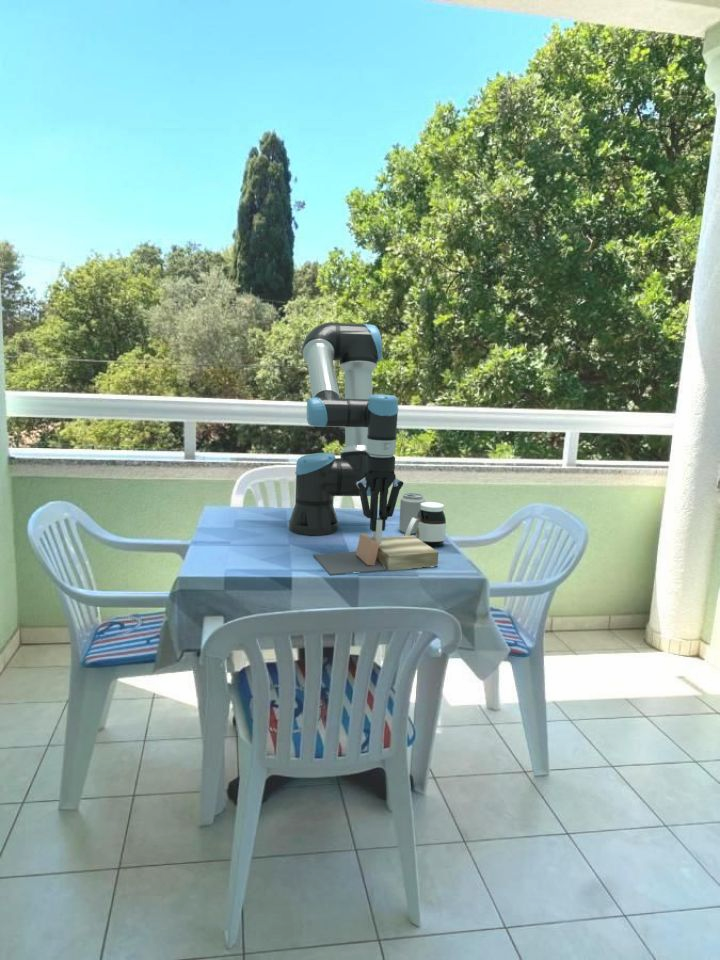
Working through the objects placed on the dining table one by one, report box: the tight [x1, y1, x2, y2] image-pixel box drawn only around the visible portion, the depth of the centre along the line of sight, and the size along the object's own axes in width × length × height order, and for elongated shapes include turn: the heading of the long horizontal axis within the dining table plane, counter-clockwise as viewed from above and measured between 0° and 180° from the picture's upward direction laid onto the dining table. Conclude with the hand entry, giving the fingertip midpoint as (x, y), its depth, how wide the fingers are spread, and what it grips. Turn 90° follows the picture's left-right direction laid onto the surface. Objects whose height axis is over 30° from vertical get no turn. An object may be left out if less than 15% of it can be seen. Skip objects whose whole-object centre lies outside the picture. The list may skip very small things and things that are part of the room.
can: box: [398, 492, 426, 535], centre depth 209 cm, size 8×8×12 cm
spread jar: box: [403, 501, 447, 547], centre depth 199 cm, size 12×11×12 cm
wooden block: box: [376, 535, 439, 572], centre depth 182 cm, size 16×14×4 cm
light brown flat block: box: [355, 532, 379, 566], centre depth 178 cm, size 9×6×2 cm
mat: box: [312, 551, 388, 576], centre depth 177 cm, size 16×15×1 cm
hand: (376, 542), depth 179 cm, fingers closed
